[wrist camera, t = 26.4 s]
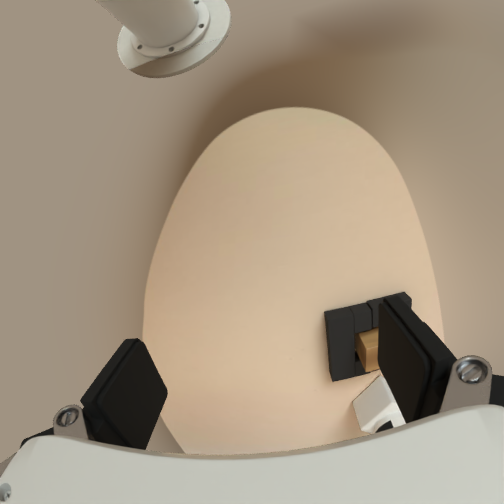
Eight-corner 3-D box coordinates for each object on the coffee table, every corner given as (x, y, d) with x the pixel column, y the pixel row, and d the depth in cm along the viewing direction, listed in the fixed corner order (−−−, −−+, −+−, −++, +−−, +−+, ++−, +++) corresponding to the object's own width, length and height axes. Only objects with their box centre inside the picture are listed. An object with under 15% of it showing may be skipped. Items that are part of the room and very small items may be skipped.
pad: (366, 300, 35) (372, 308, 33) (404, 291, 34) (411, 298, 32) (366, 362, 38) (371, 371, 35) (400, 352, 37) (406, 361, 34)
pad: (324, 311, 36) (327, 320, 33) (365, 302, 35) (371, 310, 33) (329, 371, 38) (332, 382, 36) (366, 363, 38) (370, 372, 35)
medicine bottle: (376, 411, 40) (394, 459, 29) (351, 401, 40) (366, 454, 28) (403, 386, 39) (428, 432, 27) (379, 374, 38) (403, 425, 27)
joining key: (354, 325, 36) (366, 349, 30) (379, 319, 36) (395, 341, 30) (354, 348, 37) (365, 372, 31) (379, 342, 36) (392, 365, 31)
